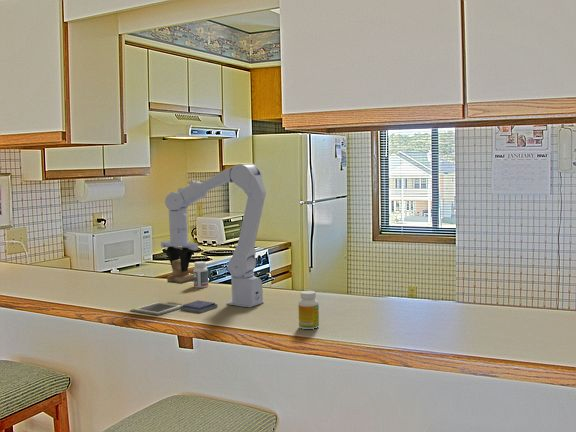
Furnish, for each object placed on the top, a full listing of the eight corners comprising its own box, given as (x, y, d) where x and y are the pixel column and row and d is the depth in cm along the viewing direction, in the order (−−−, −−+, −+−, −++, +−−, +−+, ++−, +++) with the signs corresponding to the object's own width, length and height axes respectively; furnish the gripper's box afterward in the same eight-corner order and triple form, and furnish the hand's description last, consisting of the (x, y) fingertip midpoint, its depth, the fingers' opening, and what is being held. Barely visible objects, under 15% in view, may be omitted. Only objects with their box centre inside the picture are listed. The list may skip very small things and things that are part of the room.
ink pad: (217, 307, 196) (217, 302, 196) (200, 313, 190) (200, 308, 190) (198, 304, 201) (197, 299, 201) (180, 310, 194) (180, 305, 194)
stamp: (193, 280, 208) (192, 259, 207) (181, 284, 203) (180, 262, 202) (180, 279, 211) (179, 258, 210) (167, 282, 206) (166, 261, 205)
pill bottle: (209, 285, 231) (209, 261, 230) (206, 288, 226) (205, 263, 225) (195, 285, 232) (194, 261, 231) (192, 288, 227) (191, 263, 226)
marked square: (185, 307, 198) (185, 305, 198) (158, 315, 188) (158, 313, 188) (158, 303, 204) (158, 301, 204) (130, 311, 194) (130, 309, 194)
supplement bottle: (317, 330, 168) (316, 294, 167) (297, 330, 169) (296, 294, 168) (320, 325, 173) (319, 290, 172) (300, 324, 174) (299, 289, 173)
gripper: (153, 229, 206) (155, 270, 207) (186, 231, 198) (188, 274, 199) (168, 227, 212) (170, 267, 213) (201, 229, 204) (203, 270, 205)
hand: (180, 270), depth 206 cm, fingers closed on stamp, 3 cm apart
